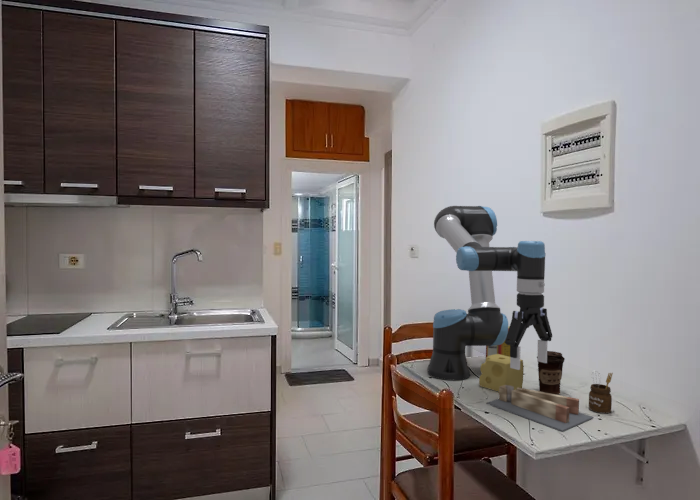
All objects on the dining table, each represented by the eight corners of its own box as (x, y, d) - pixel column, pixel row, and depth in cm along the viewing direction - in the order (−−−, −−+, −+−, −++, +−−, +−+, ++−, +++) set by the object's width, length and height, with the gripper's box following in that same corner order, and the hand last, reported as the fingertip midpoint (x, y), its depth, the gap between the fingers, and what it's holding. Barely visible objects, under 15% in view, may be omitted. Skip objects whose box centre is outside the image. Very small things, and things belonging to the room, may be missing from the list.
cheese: (478, 386, 155) (479, 357, 155) (497, 380, 162) (498, 352, 161) (505, 395, 147) (506, 364, 147) (524, 388, 153) (525, 359, 153)
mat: (486, 403, 139) (486, 402, 139) (518, 393, 148) (518, 392, 148) (562, 431, 119) (562, 430, 119) (593, 418, 129) (593, 416, 128)
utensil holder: (598, 405, 139) (599, 366, 138) (617, 412, 133) (618, 371, 133) (583, 407, 137) (584, 367, 136) (601, 415, 131) (603, 373, 130)
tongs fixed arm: (498, 399, 141) (498, 385, 141) (505, 397, 143) (505, 383, 143) (565, 423, 124) (566, 407, 124) (572, 420, 126) (573, 404, 126)
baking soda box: (513, 368, 177) (514, 327, 177) (498, 369, 176) (499, 327, 175) (500, 361, 186) (500, 322, 186) (485, 362, 185) (486, 323, 184)
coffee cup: (567, 398, 145) (568, 357, 144) (539, 395, 146) (540, 355, 146) (560, 389, 153) (561, 350, 153) (533, 387, 155) (534, 349, 154)
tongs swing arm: (516, 401, 139) (516, 388, 139) (517, 400, 141) (517, 387, 141) (577, 414, 130) (578, 400, 130) (578, 412, 131) (579, 399, 131)
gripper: (516, 297, 124) (514, 375, 125) (565, 292, 139) (564, 362, 139) (492, 294, 130) (491, 368, 131) (542, 290, 145) (541, 356, 145)
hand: (529, 365), depth 135 cm, fingers open, 13 cm apart
